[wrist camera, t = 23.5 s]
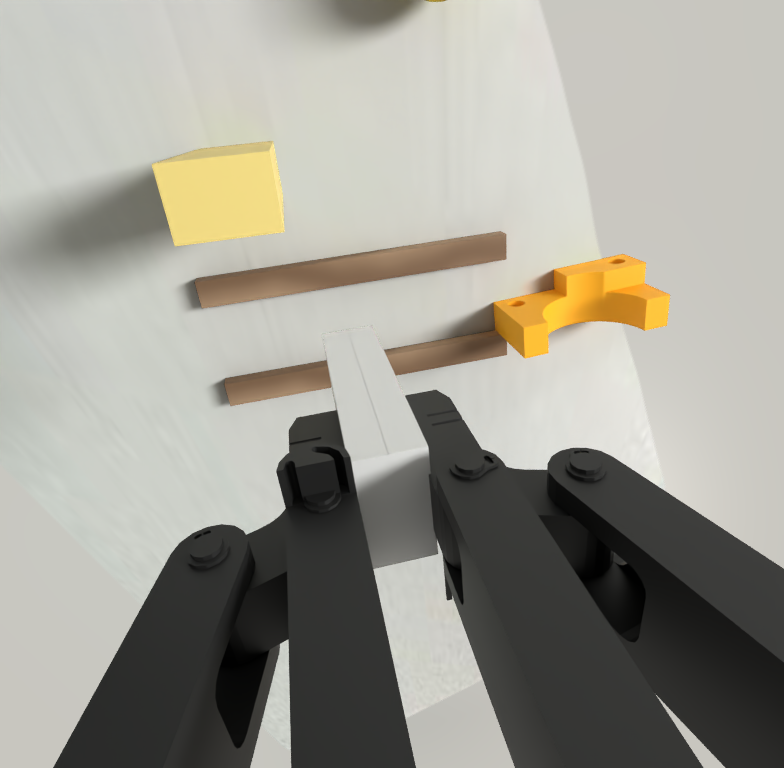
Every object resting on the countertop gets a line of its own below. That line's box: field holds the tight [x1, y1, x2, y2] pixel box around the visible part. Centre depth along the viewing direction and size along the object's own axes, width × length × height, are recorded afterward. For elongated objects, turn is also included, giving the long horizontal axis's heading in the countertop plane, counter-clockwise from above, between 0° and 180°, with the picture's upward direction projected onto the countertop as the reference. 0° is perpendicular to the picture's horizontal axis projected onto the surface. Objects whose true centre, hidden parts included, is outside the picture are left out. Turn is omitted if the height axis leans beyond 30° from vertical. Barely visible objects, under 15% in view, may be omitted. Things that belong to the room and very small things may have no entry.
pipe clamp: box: [493, 254, 670, 358], centre depth 43 cm, size 12×4×6 cm, turn 99°
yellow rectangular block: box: [152, 141, 284, 246], centre depth 30 cm, size 4×5×15 cm
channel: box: [195, 231, 507, 406], centre depth 42 cm, size 10×24×1 cm, turn 96°
